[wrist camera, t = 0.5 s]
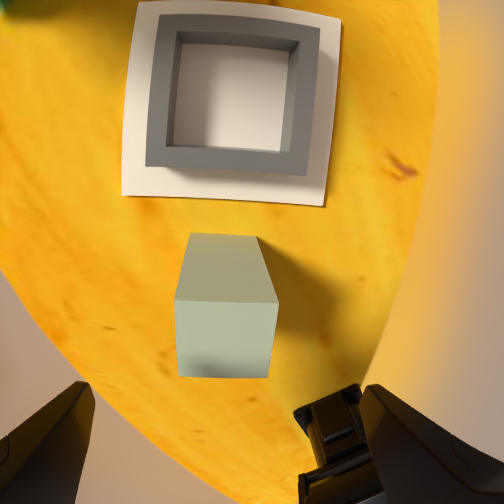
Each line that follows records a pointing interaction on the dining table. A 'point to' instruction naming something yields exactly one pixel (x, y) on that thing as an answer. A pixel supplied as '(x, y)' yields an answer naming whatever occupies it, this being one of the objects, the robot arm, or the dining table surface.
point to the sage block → (224, 308)
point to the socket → (229, 102)
